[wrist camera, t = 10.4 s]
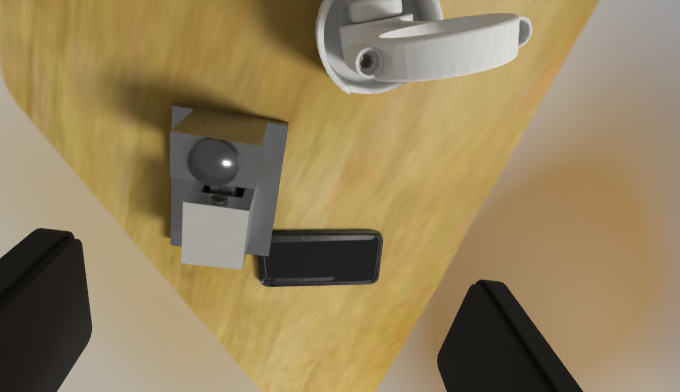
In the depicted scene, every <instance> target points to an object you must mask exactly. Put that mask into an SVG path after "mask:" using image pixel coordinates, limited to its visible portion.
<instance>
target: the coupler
mask: <svg viewBox="0 0 680 392" xmlns="http://www.w3.org/2000/svg"><path fill="white" fill-rule="evenodd" d="M287 130H288V123H286V122H281V121H275V120H269V119H264V118H258V117H252V116H247V115H241V114H236V113H230V112H224V111H219V110H213V109H207V108H202V107H196V106H191V105H185V104H179V103H175V104H173V105H172V129H171V131H170V177H171V245H173V246H182V218H183V201H184V199H185V198H186V196H187V195H188V193H189V192H190V190H191V188H192V187H193V185H194V184H195V182H196V181H199V182H201V183H202V184H205V185H207V189H206V193H211V194H223V195H226V196H232V197H239V198H242V197H243V194H244V191H245V188H248V189H255V195H254V204H253V212H252V220H251V228H250V236H249V244H248V248H247V252H246V254H253V255H261V256H269V250H270V244H271V237H272V230H273V224H274V217H275V210H276V204H277V197H278V190H279V184H280V177H281V170H282V163H283V157H284V150H285V143H286V137H287Z"/></svg>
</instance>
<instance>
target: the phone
mask: <svg viewBox="0 0 680 392" xmlns="http://www.w3.org/2000/svg"><path fill="white" fill-rule="evenodd" d="M382 245H383V238H382V236H381V234H380V233H379V232H378V231H375V230H336V231H272V237H271V244H270V250H269V256H261V255H258V263H259V279H260V282H261V284H262V285H264V286H266V287H283V286H325V285H367V284H373V283H375V282H376V281H377V280H378V277H379V270H380V262H381V253H382Z"/></svg>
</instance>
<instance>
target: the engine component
mask: <svg viewBox="0 0 680 392" xmlns="http://www.w3.org/2000/svg"><path fill="white" fill-rule="evenodd" d="M531 34H532V24H531V22H530V20H529V19H528V18H526V17H521V16H518V15H516V14H511V13H498V14H485V15H475V16H466V17H459V18H451V19H445V20H443V13H442V9H441V6H440V2H439V0H323V1H322V3H321V6H320V8H319V10H318V15H317V19H316V25H315V38H316V45H317V49H318V52H319V55H320V58H321V60H322V63H323V65H324V67H325V69H326V71H327V73H328V74H329V76H330V77H331V79H332V80H333V81H334V83H336V84H337V85H338V86H339V87H340V88H341V89H342V90H343V91H345V92H346V93H348V94H350V92H355V93H362V94H376V93H382V92H386V91H389V90H392V89H394V88H397V87H399V86H401V85H403V84H405V83H408V82H415V81H428V80H436V79H444V78H451V77H457V76H462V75H468V74H472V73H477V72H482V71H486V70H489V69H492V68H496V67H498V66H501V65H504V64H506V63H508V62H510V61H511V60H513V59H514V58H515V57H516V56H517V54H518V48H520V47H521V46H523V45H525V44H526V43H527V41H528V40H529V39H530V37H531Z"/></svg>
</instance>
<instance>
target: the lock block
mask: <svg viewBox="0 0 680 392" xmlns="http://www.w3.org/2000/svg"><path fill="white" fill-rule="evenodd" d="M206 189H207V185H205V184H202V183H201V182H199V181H196V182H195V184H194V185H193V187H192V188H191V190H190V192H189V193H188V195H187V196H186V198H185V199H184V201H183V218H182V255H181V263H186V264H195V265H205V266H214V267H223V268H232V269H241V270H242V269H243V265H244V261H245V256H246V252H247V248H248V244H249V236H250V228H251V220H252V212H253V204H254V195H255V189H248V188H245V191H244V194H243V197H242V198H239V197H232V196H226V195H223V194H211V193H206Z"/></svg>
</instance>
